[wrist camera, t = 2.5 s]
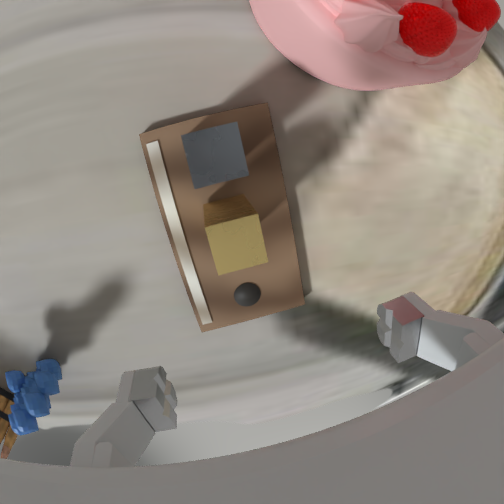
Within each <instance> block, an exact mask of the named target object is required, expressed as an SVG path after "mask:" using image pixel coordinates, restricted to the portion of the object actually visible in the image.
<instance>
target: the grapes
mask: <svg viewBox="0 0 504 504" xmlns="http://www.w3.org/2000/svg"><path fill="white" fill-rule="evenodd" d="M36 367H37V369H36V371H33V372H28V373H27V376H24V374H23V373H22V372H21V371H16V370H13V371H8V372H5V375H6V381H7V385H8V388H9V389H10V390H11V391H12V392H14V393H15V394H14V396H15V398H13V399H14V403H15V404H13V405H10V407H11V412H12V413H11V414H8V418H9V422H10V425H11V428H12V430H13V431H14V433H16V434H17V435H24V434H29V433H31V432H35V431H38V430H39V429H38V424H37V420H36V417H42V416H46V415H49V414H50V412H49V409H50V408H51V405H50V399H49V395H54V394H57V393H60V392H59V385H58V381H57V380H61V379H62V373H61V368H60V365H59V363H58V362H57V361H56V360H55V359H45V360H41V361H37V362H36Z"/></svg>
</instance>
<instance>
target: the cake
mask: <svg viewBox="0 0 504 504" xmlns="http://www.w3.org/2000/svg"><path fill="white" fill-rule="evenodd" d="M249 1H250V5H251V9H252V11H253V14H254V16H255V18H256V20H257V22H258V24H259V26H260V28H261V29H262V31H263V32H264V34H265V35H266V37H267V38H268V39H269V40H270V42H271V43H272V44H273V45H274V46H275V47H276V48H277V49H278V50H279V51H280V52H281V53H282V54H283V55H284V56H285V57H286V58H287V59H289V60H290V61H291V62H292V63H293V64H295V65H296V66H298V67H299V68H300V69H302V70H303V71H305V72H307V73H308V74H310V75H312V76H314V77H316V78H318V79H320V80H322V81H324V82H327V83H329V84H332V85H335V86H338V87H342V88H346V89H352V90H361V91H373V90H382V89H389V88H396V87H403V86H411V85H420V84H429V83H436V82H440V81H444V80H447V79H449V78H452V77H453V76H455V75H457V74H458V73H459V72H460V71H461V70H462V69H463V68H465V67H467V66H468V65H470V63H472V62H474V61H475V60H476V59H477V57H478V55H479V52H480V49H481V47H482V45H483V43H484V41H485V39H486V36H487V31H489V30H490V29H491V28H492V27H493V26H494V25H495V24H496V23H497V21H498V19H499V18H500V14H501V10H500V7H499V5H498V3H497V2H496V1H495V0H249Z"/></svg>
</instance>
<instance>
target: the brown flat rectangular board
mask: <svg viewBox="0 0 504 504" xmlns="http://www.w3.org/2000/svg"><path fill="white" fill-rule="evenodd" d="M233 122H237V123H238V128H239V132H240V137H241V141H242V145H243V150H244V154H245V159H246V163H247V168H248V172H249V176H245V177H241V178H237V179H233V180H229V181H225V182H221V183H217V184H213V185H209V186H205V187H202V188H198V189H194V185H193V182H192V178H191V174H190V170H189V166H188V162H187V158H186V154H185V150H184V147H183V142H182V138H181V135H184V134H188V133H191V132H195V131H199V130H203V129H207V128H211V127H215V126H220V125H224V124H228V123H233ZM139 136H140V140H141V144H142V148H143V151H144V155H145V159H146V163H147V166H148V170H149V174H150V177H151V181H152V184H153V188H154V191H155V195H156V198H157V202H158V205H159V208H160V212H161V215H162V218H163V221H164V225H165V228H166V231H167V234H168V237H169V240H170V244H171V247H172V250H173V253H174V256H175V259H176V262H177V265H178V268H179V271H180V274H181V276H182V279H183V282H184V285H185V288H186V291H187V294H188V296H189V299H190V302H191V305H192V307H193V310H194V313H195V315H196V318H197V321H198V323H199V326H200V329H201V331H202V332H205V331H209V330H213V329H217V328H221V327H225V326H229V325H233V324H237V323H240V322H244V321H248V320H252V319H255V318H259V317H262V316H266V315H270V314H273V313H277V312H280V311H284V310H287V309H290V308H294V307H297V306H301V305H304V304H305V302H304V296H303V289H302V283H301V276H300V270H299V264H298V258H297V252H296V246H295V240H294V234H293V228H292V223H291V217H290V212H289V206H288V201H287V195H286V190H285V185H284V180H283V174H282V169H281V164H280V159H279V154H278V149H277V145H276V140H275V135H274V130H273V125H272V121H271V116H270V112H269V107H268V103H263V104H257V105H252V106H247V107H242V108H237V109H232V110H227V111H223V112H218V113H214V114H210V115H206V116H202V117H198V118H194V119H190V120H186V121H182V122H179V123H175V124H172V125H168V126H165V127H161V128H158V129H155V130H151V131H148V132H145V133H142V134H139ZM241 194H244V196H245V197H246V198H247V200H248V201H249V202H250V204H251V205H252V206H253V208H254V209H255V210H256V212H257V213H258V216H259V221H260V225H261V230H262V235H263V239H264V244H265V249H266V253H267V258H268V262H267V263H264V264H260V265H256V266H252V267H249V268H245V269H241V270H237V271H234V272H230V273H226V274H222V275H219V276H218V272H217V269H216V266H215V262H214V259H213V255H212V252H211V248H210V245H209V241H208V238H207V234H206V230H205V225H204V210H203V204H206V203H210V202H213V201H217V200H221V199H225V198H229V197H233V196H237V195H241Z"/></svg>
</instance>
